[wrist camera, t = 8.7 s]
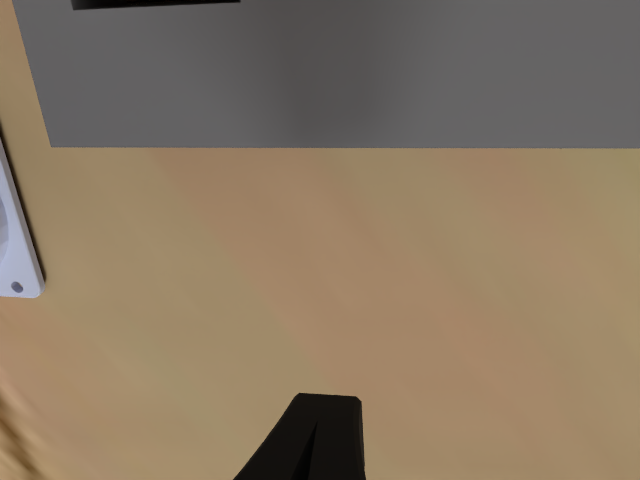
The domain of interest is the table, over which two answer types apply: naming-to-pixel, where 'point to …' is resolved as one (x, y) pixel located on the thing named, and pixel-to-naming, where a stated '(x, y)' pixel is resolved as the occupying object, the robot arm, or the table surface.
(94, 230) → the table surface
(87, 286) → the table surface
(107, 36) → the button panel
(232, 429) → the table surface
